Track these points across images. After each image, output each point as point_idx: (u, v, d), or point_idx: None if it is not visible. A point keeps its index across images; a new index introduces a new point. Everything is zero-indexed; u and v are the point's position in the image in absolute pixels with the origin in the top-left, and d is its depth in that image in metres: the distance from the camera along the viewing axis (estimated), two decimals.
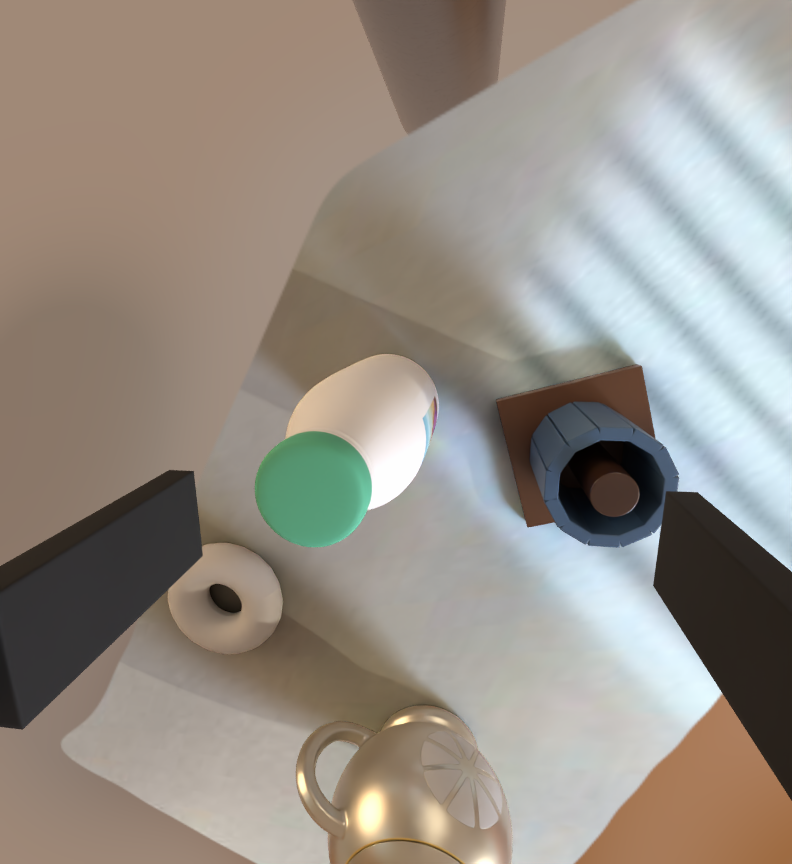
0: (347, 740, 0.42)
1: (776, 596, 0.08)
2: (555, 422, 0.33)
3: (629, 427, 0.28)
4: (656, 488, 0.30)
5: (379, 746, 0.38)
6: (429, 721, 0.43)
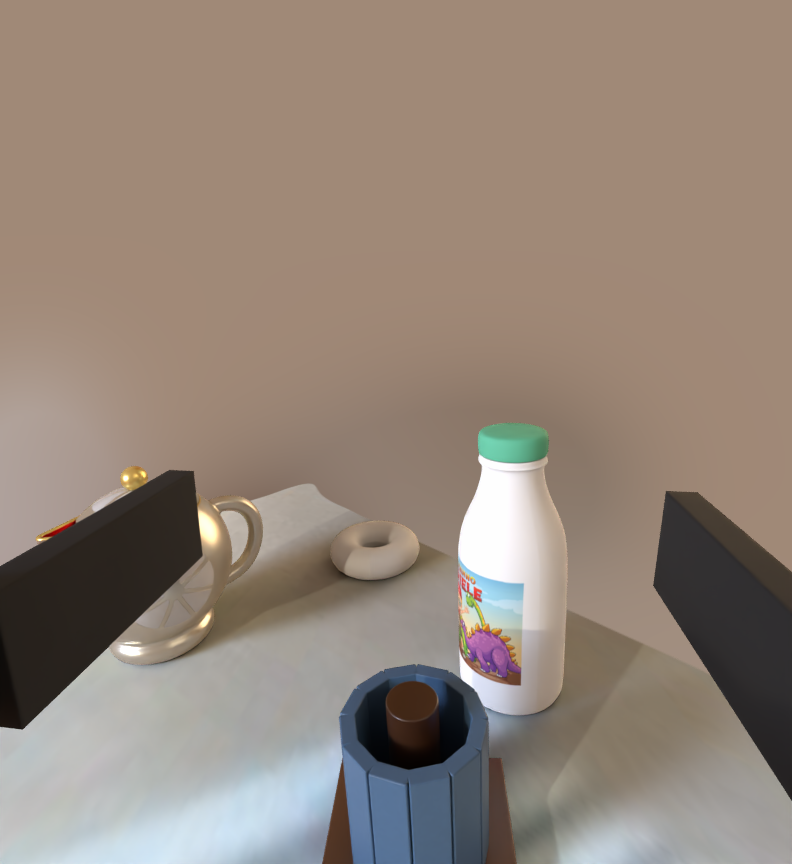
0: (234, 563, 0.50)
1: (776, 596, 0.08)
2: None
3: (482, 748, 0.24)
4: None
5: (230, 559, 0.46)
6: (195, 627, 0.45)
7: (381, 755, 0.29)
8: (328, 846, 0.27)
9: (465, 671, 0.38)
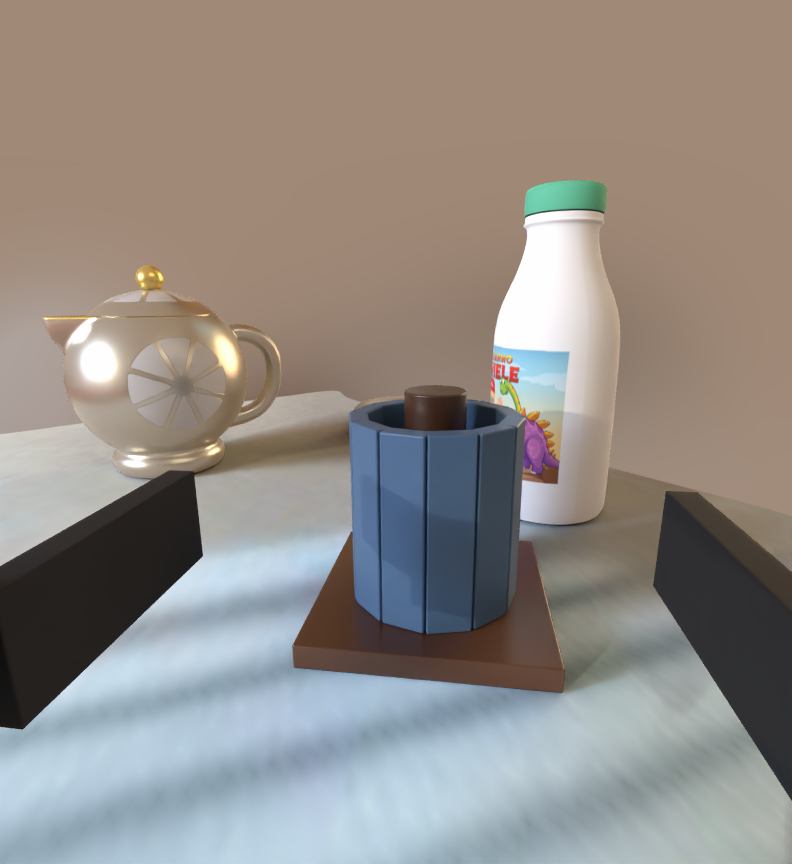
0: (249, 404, 0.47)
1: (776, 596, 0.08)
2: None
3: (517, 428, 0.19)
4: None
5: (245, 384, 0.43)
6: (203, 449, 0.42)
7: None
8: (327, 584, 0.24)
9: None
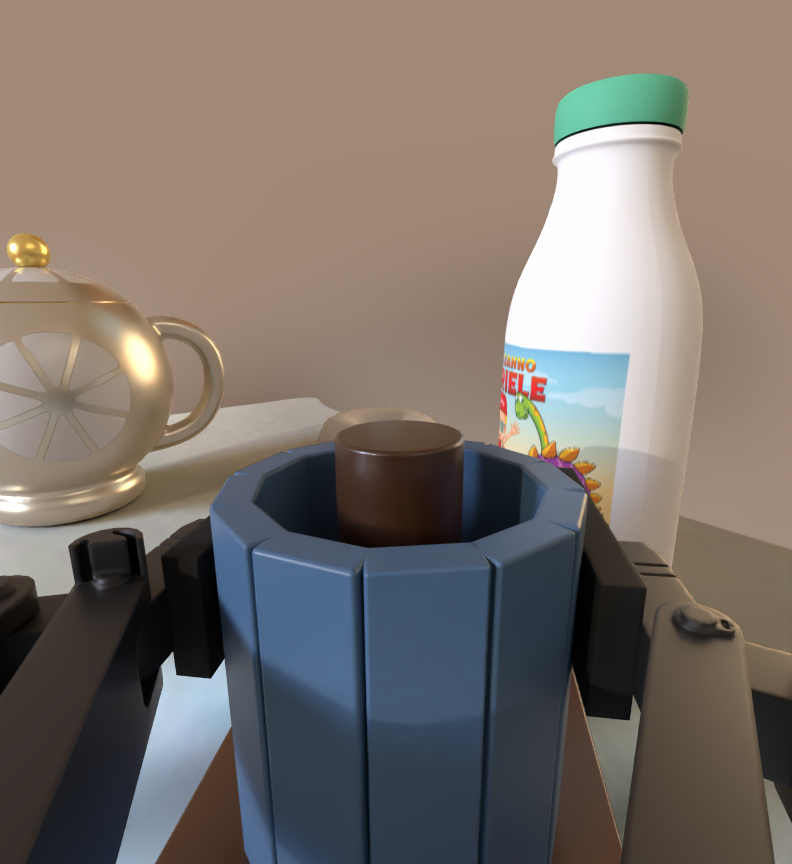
0: (181, 421, 0.36)
1: None
2: None
3: (580, 530, 0.09)
4: None
5: (167, 395, 0.32)
6: (108, 484, 0.31)
7: None
8: (202, 789, 0.13)
9: None
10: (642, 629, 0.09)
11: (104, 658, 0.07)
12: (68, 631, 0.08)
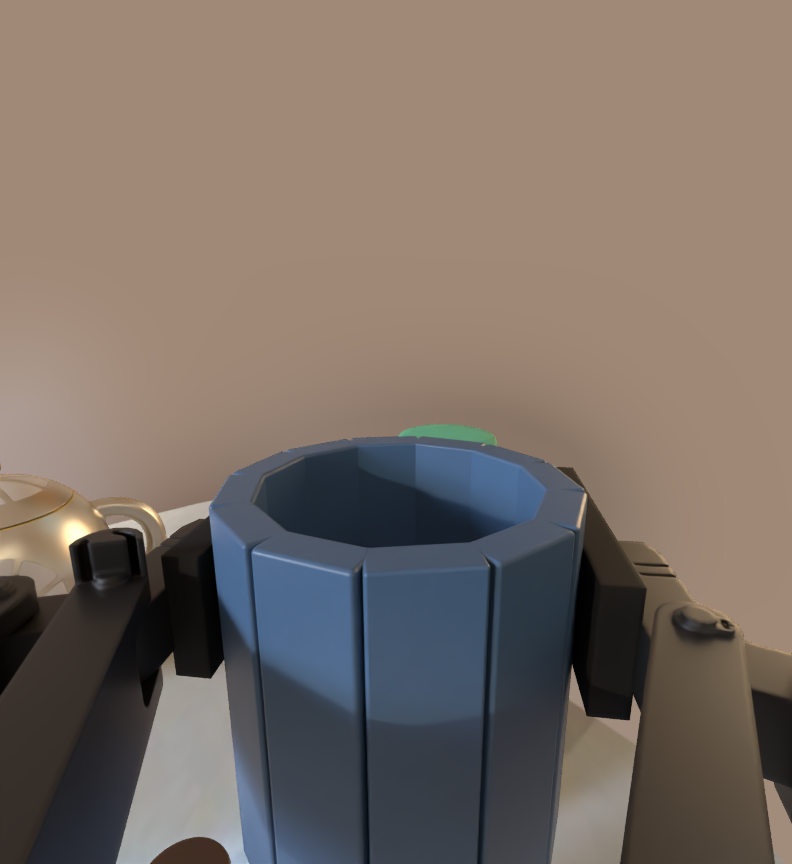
0: None
1: None
2: None
3: (579, 530, 0.09)
4: None
5: None
6: None
7: None
8: None
9: None
10: (642, 629, 0.09)
11: (104, 658, 0.07)
12: (67, 631, 0.08)
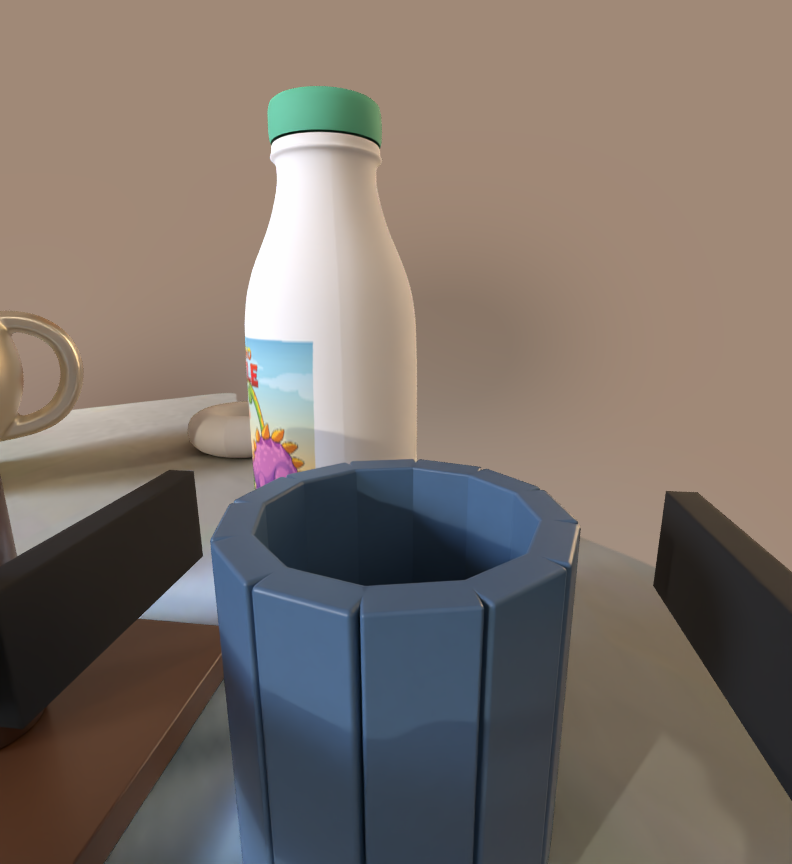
0: (37, 411, 0.38)
1: (776, 596, 0.08)
2: None
3: (571, 565, 0.09)
4: None
5: (5, 386, 0.33)
6: None
7: None
8: None
9: None
10: None
11: None
12: None
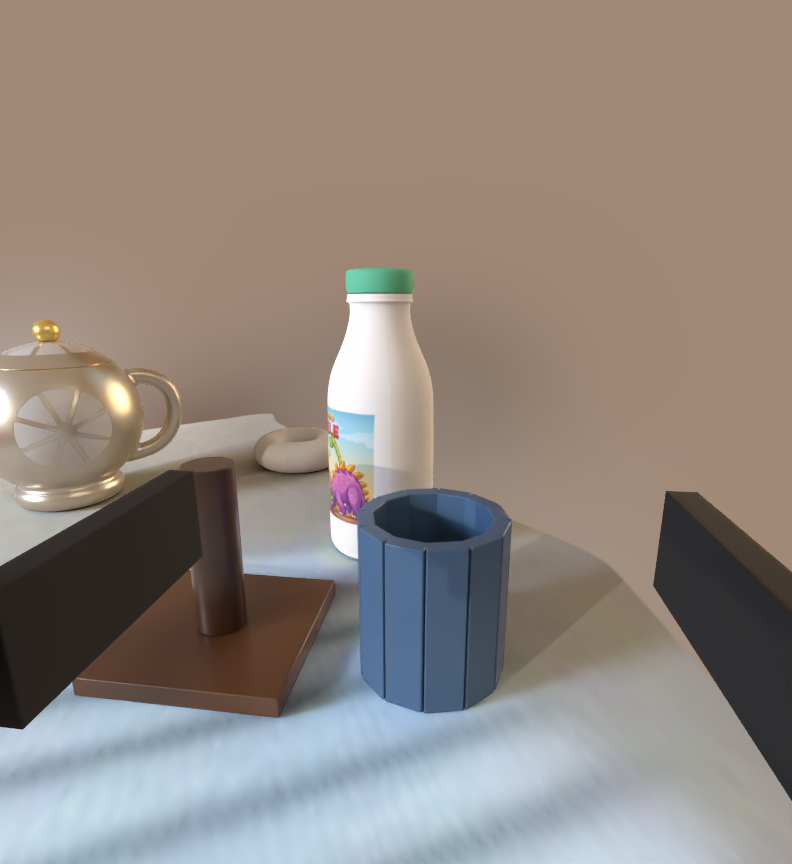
0: (150, 439, 0.52)
1: (776, 596, 0.08)
2: None
3: (504, 536, 0.22)
4: None
5: (138, 424, 0.47)
6: (97, 484, 0.46)
7: None
8: None
9: (331, 521, 0.38)
10: None
11: None
12: None
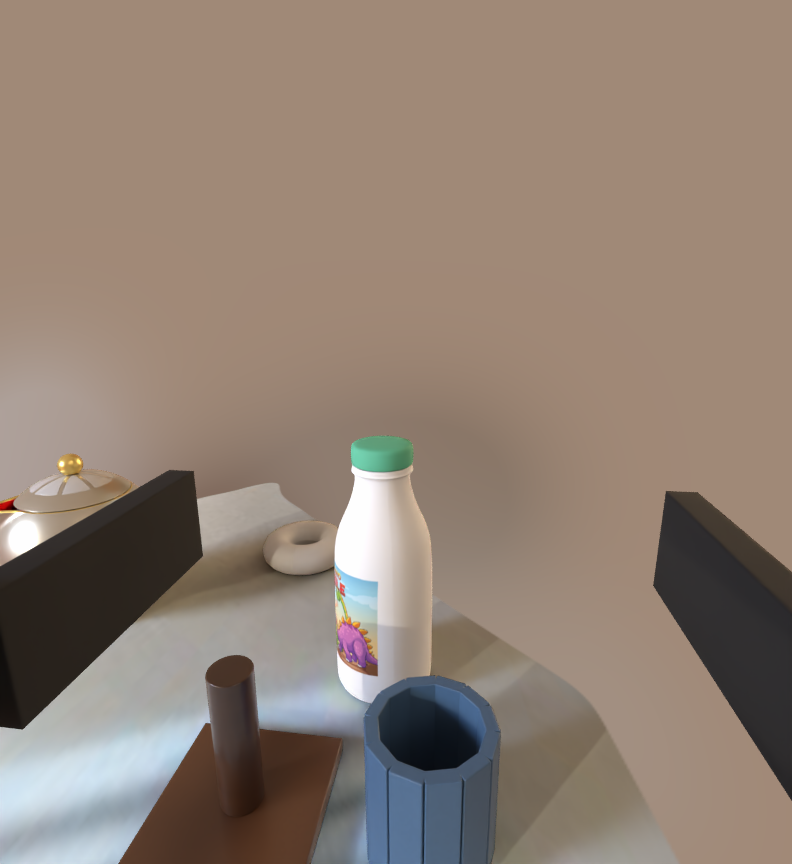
0: None
1: (776, 596, 0.08)
2: None
3: (493, 758, 0.26)
4: None
5: None
6: None
7: (398, 757, 0.31)
8: (162, 796, 0.31)
9: (338, 660, 0.41)
10: None
11: None
12: None
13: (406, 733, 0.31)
